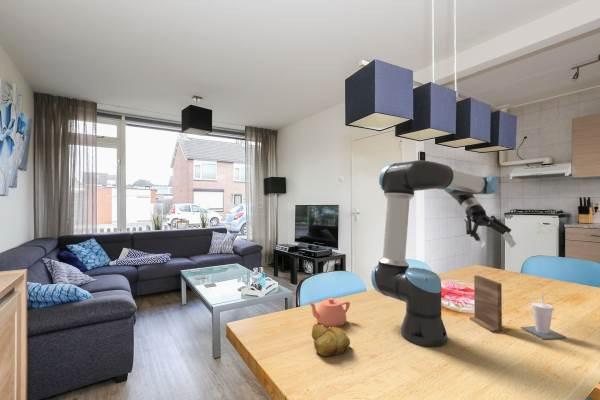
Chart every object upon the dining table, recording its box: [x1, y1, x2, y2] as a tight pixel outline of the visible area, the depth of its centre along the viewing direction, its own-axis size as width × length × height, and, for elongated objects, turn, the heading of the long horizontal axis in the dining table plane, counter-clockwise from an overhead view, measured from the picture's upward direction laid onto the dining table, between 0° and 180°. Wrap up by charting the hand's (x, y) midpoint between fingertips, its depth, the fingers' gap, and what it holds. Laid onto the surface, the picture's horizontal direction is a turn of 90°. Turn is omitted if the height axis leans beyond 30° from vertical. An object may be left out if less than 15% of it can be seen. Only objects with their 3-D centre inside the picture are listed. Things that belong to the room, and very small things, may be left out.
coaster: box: [520, 325, 567, 340], centre depth 105 cm, size 9×9×1 cm
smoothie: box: [530, 293, 555, 334], centre depth 105 cm, size 6×6×14 cm
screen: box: [469, 274, 508, 334], centre depth 111 cm, size 6×12×18 cm, turn 6°
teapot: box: [307, 297, 351, 328], centre depth 115 cm, size 12×18×10 cm
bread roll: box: [311, 323, 351, 357], centre depth 93 cm, size 13×10×8 cm
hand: (499, 246), depth 121 cm, fingers open, 13 cm apart
